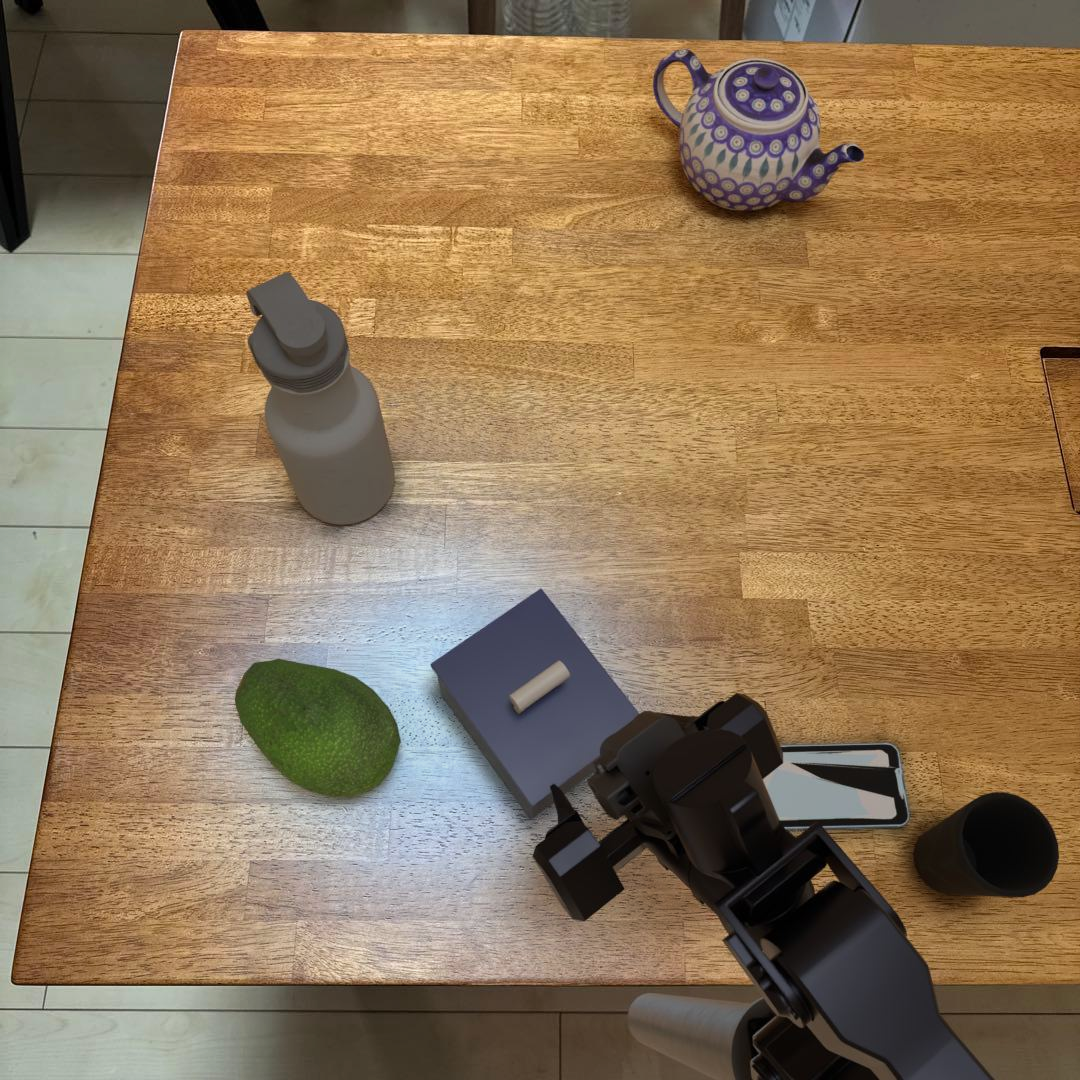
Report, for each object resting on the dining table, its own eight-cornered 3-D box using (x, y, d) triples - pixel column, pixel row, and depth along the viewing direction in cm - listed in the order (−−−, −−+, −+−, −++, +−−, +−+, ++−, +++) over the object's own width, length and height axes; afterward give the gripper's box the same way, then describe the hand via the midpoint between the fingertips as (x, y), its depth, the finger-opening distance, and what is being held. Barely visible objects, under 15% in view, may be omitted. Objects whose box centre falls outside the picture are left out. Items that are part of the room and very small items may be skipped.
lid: (430, 666, 86) (426, 651, 82) (540, 591, 89) (542, 572, 85) (532, 808, 82) (533, 799, 78) (644, 723, 85) (651, 710, 81)
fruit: (222, 730, 90) (189, 702, 81) (295, 643, 94) (272, 606, 84) (354, 832, 87) (336, 815, 78) (426, 738, 90) (417, 711, 81)
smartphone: (729, 745, 90) (897, 741, 90) (727, 747, 91) (894, 743, 91) (737, 831, 87) (911, 827, 87) (735, 832, 88) (908, 828, 88)
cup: (888, 879, 87) (943, 865, 76) (917, 799, 90) (975, 774, 79) (974, 924, 86) (1043, 916, 75) (1001, 841, 88) (1072, 822, 77)
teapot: (610, 161, 117) (623, 52, 104) (687, 86, 122) (710, -27, 109) (791, 276, 112) (831, 177, 98) (865, 193, 117) (912, 88, 103)
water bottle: (276, 465, 101) (197, 289, 75) (363, 420, 103) (315, 234, 77) (325, 545, 97) (259, 390, 72) (414, 497, 100) (381, 329, 74)
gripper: (799, 679, 62) (661, 601, 76) (556, 867, 58) (454, 749, 71) (847, 804, 67) (709, 711, 81) (627, 987, 63) (519, 855, 76)
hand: (602, 752), depth 77 cm, fingers open, 9 cm apart
